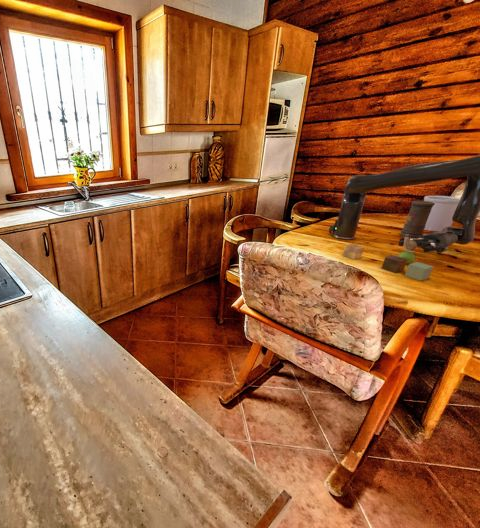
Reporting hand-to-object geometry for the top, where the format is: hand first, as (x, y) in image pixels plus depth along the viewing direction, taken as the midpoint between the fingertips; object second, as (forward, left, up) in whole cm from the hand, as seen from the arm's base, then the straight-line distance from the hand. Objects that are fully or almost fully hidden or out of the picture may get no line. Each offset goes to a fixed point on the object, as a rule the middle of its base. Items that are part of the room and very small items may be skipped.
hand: (412, 246), depth 117 cm
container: (-20, +43, -7) cm, 48 cm away
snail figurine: (0, -2, -7) cm, 8 cm away
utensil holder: (-22, +66, -7) cm, 70 cm away
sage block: (+10, -13, -7) cm, 18 cm away
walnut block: (+2, -13, -7) cm, 15 cm away
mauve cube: (-14, -13, -7) cm, 21 cm away
